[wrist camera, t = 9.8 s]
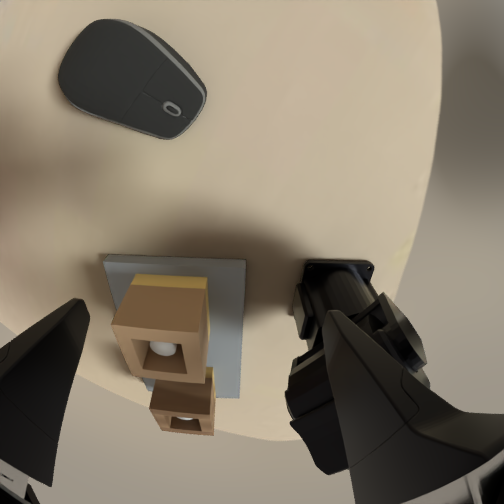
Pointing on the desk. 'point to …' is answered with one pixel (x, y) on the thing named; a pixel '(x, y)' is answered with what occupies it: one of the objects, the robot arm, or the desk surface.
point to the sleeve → (185, 405)
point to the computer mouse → (131, 79)
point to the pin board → (179, 318)
